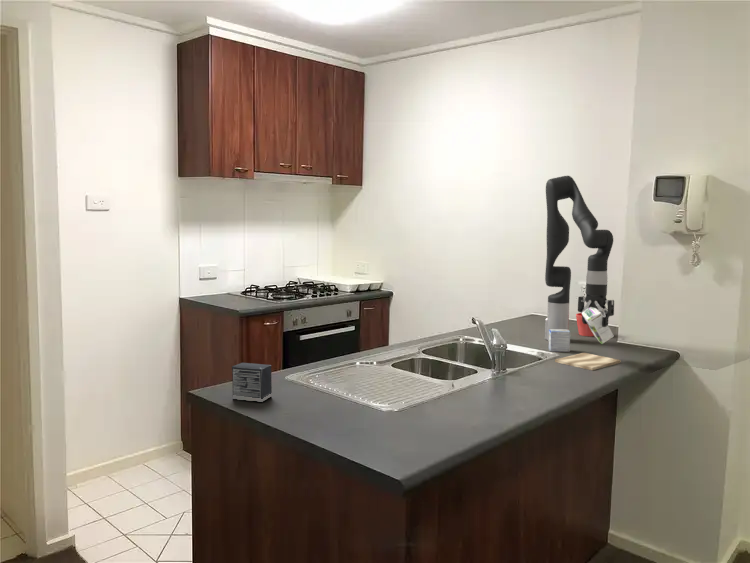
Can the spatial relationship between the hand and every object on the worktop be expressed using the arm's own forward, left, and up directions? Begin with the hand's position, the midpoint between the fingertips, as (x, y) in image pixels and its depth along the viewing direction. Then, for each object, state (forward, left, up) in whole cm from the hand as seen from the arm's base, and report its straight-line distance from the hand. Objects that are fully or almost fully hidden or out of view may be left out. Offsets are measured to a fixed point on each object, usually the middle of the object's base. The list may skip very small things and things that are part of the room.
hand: (594, 325), depth 235 cm
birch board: (-1, -2, -14) cm, 15 cm away
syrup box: (0, +7, -5) cm, 9 cm away
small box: (-37, -125, -14) cm, 131 cm away
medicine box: (-20, +6, -14) cm, 25 cm away
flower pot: (-32, +45, -14) cm, 57 cm away
